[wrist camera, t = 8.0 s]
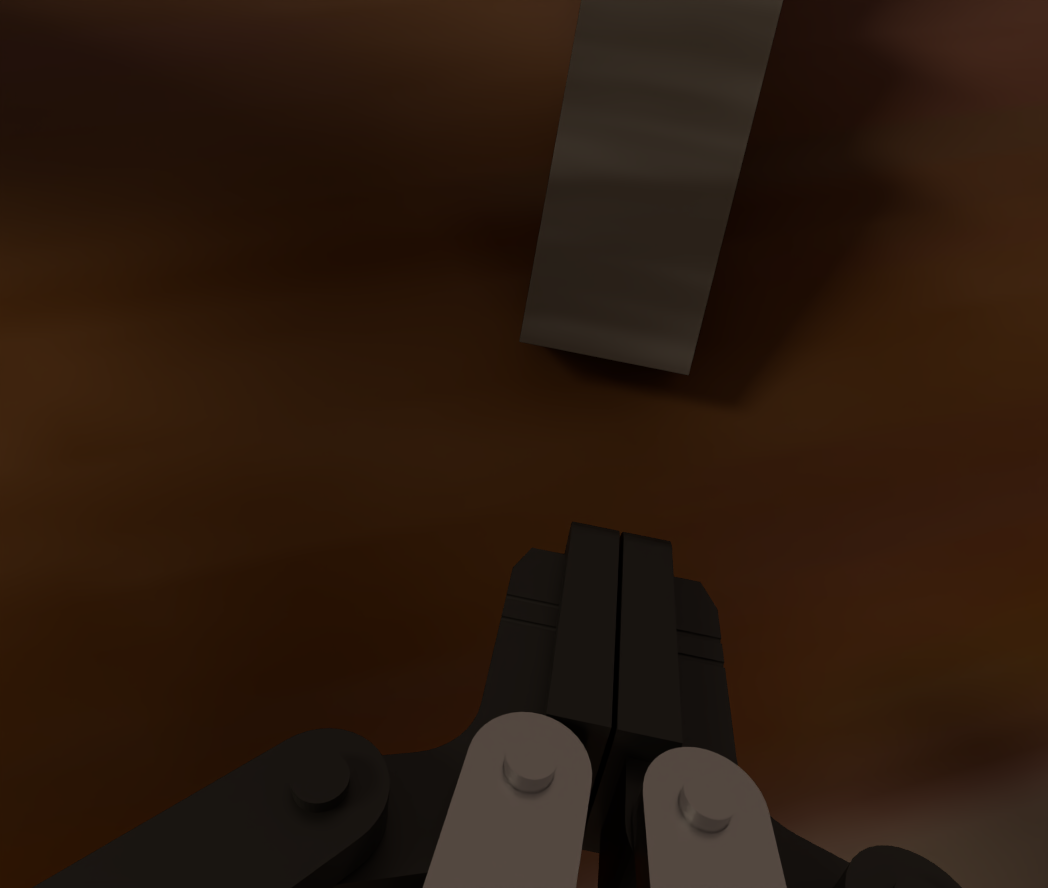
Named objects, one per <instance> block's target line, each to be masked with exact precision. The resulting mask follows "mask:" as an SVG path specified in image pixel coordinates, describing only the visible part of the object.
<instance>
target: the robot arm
mask: <svg viewBox="0 0 1048 888" xmlns="http://www.w3.org/2000/svg"><path fill="white" fill-rule="evenodd" d="M720 640H721V634H720V626H719V618H718V610H717V608H716V606H715V605H714V603H713V602H712V600H711V598H710V597H709V595H708V594H707V592H706V591H705V589H704V587H703V586H702V584H701V583H700V582H697V581H692V580H687V579H683V578H678V577H673V560H672V545H671V542H670V541H666V540H661V539H656V538H651V537H646V536H641V535H636V534H631V533H626V532H622V533H621V536H620V534H619V531H617V530H612V529H607V528H602V527H597V526H592V525H587V524H582V523H577V522H572V524H571V527H570V532H569V536H568V541H567V545H566V550H565V554H560V553H555V552H550V551H545V550H540V549H535V548H531V549H530V550H529V551H528V553H527V554H526V555H525V556H524V557H523V558H522V559H521V560H520V561H519V562H518V563H517V564H516V565H515V566H514V567H513V570H512V574H511V578H510V583H509V587H508V591H507V596H506V600H505V604H504V608H503V613H502V617H501V621H500V625H499V630H498V634H497V638H496V643H495V647H494V651H493V655H492V660H491V664H490V668H489V672H488V677H487V681H486V685H485V690H484V694H483V698H482V702H481V706H480V709H479V712H478V714H477V716H476V717H475V719H474V721H473V722H472V724H471V725H470V726H469V727H468V729H467V730H465V731H464V732H463V733H462V734H461V735H460V736H459V737H457V738H456V739H454V740H453V741H451V742H449V743H447V744H445V745H443V746H441V747H438V748H434V749H431V750H427V751H421V752H414V753H404V754H393V755H383V756H382V755H381V753H380V752H379V750H378V749H377V748H376V747H375V746H374V745H373V744H372V743H371V742H369V741H368V740H366V739H365V738H364V737H362V736H360V735H358V734H355V733H353V732H350V731H346V730H342V729H333V728H327V729H316V730H311V731H307V732H304V733H301V734H298V735H295V736H293V737H291V738H289V739H287V740H285V741H284V742H282V743H280V744H279V745H277V746H275V747H273V748H272V749H270V750H268V751H267V752H265V753H263V754H261V755H260V756H258V757H256V758H254V759H253V760H251V761H249V762H248V763H246V764H244V765H242V766H241V767H239V768H237V769H236V770H234V771H232V772H230V773H229V774H227V775H225V776H224V777H222V778H220V779H218V780H217V781H215V782H213V783H212V784H210V785H208V786H206V787H205V788H203V789H201V790H199V791H198V792H196V793H194V794H193V795H191V796H189V797H187V798H186V799H184V800H182V801H181V802H179V803H177V804H175V805H174V806H172V807H170V808H169V809H167V810H165V811H163V812H162V813H160V814H158V815H157V816H155V817H153V818H151V819H150V820H148V821H146V822H144V823H143V824H141V825H139V826H138V827H136V828H134V829H132V830H131V831H129V832H127V833H126V834H124V835H122V836H120V837H119V838H117V839H115V840H114V841H112V842H110V843H108V844H107V845H105V846H103V847H102V848H100V849H98V850H96V851H95V852H93V853H91V854H89V855H88V856H86V857H84V858H83V859H81V860H79V861H77V862H76V863H74V864H72V865H71V866H69V867H67V868H65V869H64V870H62V871H60V872H59V873H57V874H55V875H53V876H52V877H50V878H48V879H47V880H45V881H43V882H41V883H40V884H38V885H36V886H34V887H33V888H576V883H577V876H578V870H579V863H580V857H581V850H582V849H583V850H587V851H592V852H596V853H599V873H598V888H961V886H960V885H959V884H958V883H956V882H955V881H954V880H953V879H952V878H951V877H950V876H949V875H948V874H947V873H946V872H944V871H943V870H942V869H940V868H939V867H938V866H936V865H935V864H934V863H932V862H930V861H929V860H927V859H925V858H924V857H922V856H920V855H918V854H915V853H913V852H911V851H908V850H905V849H902V848H899V847H893V846H874V847H869V848H867V849H865V850H863V851H861V852H859V853H858V854H857V855H856V856H855V857H854V858H853V859H852V861H851V862H850V863H849V862H847V861H845V860H843V859H841V858H839V857H837V856H835V855H834V854H832V853H830V852H828V851H826V850H824V849H822V848H820V847H819V846H817V845H815V844H813V843H811V842H809V841H807V840H805V839H803V838H802V837H800V836H798V835H796V834H794V833H793V832H791V831H789V830H788V829H786V828H785V827H783V826H782V825H781V824H779V823H778V822H777V821H775V820H774V819H773V818H772V817H771V816H770V814H769V811H768V808H767V805H766V802H765V800H764V798H763V796H762V794H761V792H760V790H759V789H758V787H757V786H756V784H755V783H754V782H753V780H752V779H751V778H750V777H749V776H748V775H747V774H746V773H745V772H744V771H743V770H742V769H741V768H740V767H739V766H738V764H737V759H736V752H735V744H734V736H733V728H732V720H731V712H730V704H729V697H728V689H727V681H726V673H725V668H723V664H724V657H723V650H722V644H720Z"/></svg>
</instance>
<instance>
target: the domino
mask: <svg viewBox="0 0 1048 888" xmlns="http://www.w3.org/2000/svg"><path fill="white" fill-rule="evenodd" d="M782 3H783V0H581V5H580V11H579V16H578V22H577V27H576V33H575V38H574V44H573V49H572V55H571V60H570V66H569V71H568V77H567V82H566V88H565V93H564V99H563V104H562V110H561V115H560V121H559V126H558V132H557V137H556V143H555V148H554V154H553V159H552V165H551V170H550V176H549V181H548V187H547V192H546V198H545V203H544V209H543V214H542V220H541V225H540V231H539V236H538V242H537V247H536V253H535V258H534V264H533V269H532V275H531V280H530V286H529V291H528V297H527V302H526V308H525V313H524V319H523V324H522V330H521V335H520V341H519V342H524V343H529V344H534V345H539V346H544V347H549V348H554V349H559V350H564V351H569V352H574V353H579V354H584V355H589V356H594V357H599V358H604V359H609V360H614V361H619V362H624V363H629V364H635V365H640V366H645V367H650V368H655V369H660V370H665V371H670V372H675V373H680V374H685V375H689V372H690V368H691V364H692V360H693V356H694V352H695V348H696V344H697V340H698V336H699V332H700V328H701V324H702V320H703V316H704V312H705V308H706V304H707V300H708V296H709V292H710V288H711V284H712V280H713V277H714V273H715V269H716V265H717V261H718V257H719V253H720V249H721V245H722V241H723V237H724V233H725V229H726V225H727V221H728V217H729V213H730V209H731V205H732V201H733V197H734V193H735V189H736V185H737V181H738V177H739V173H740V169H741V165H742V162H743V158H744V154H745V150H746V146H747V142H748V138H749V134H750V130H751V126H752V122H753V118H754V114H755V110H756V106H757V102H758V98H759V94H760V90H761V86H762V82H763V78H764V74H765V70H766V66H767V62H768V58H769V54H770V51H771V47H772V43H773V39H774V35H775V31H776V27H777V23H778V19H779V15H780V11H781V7H782Z"/></svg>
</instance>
